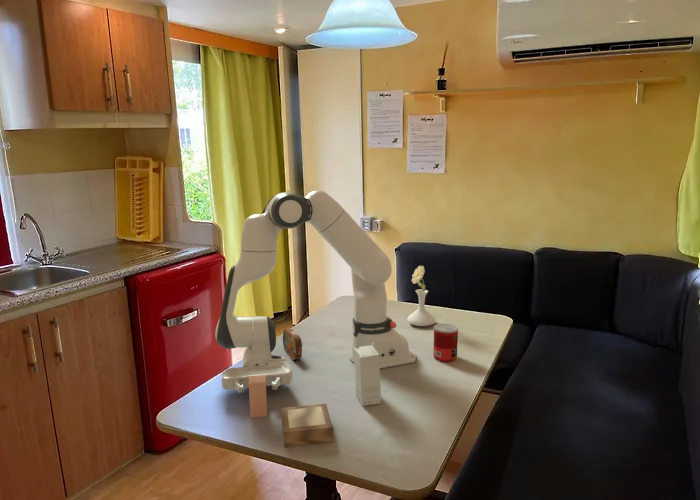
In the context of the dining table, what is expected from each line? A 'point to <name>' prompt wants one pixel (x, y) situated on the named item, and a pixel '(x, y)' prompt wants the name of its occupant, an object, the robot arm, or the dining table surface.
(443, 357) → the canned food
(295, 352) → the tin
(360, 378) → the skincare box
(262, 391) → the terracotta block
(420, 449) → the dining table surface
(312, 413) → the plinth
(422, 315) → the flower in vase
